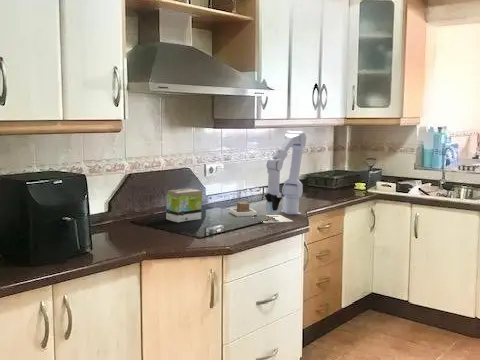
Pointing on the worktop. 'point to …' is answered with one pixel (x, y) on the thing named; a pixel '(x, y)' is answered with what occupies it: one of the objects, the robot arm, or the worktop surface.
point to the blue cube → (271, 208)
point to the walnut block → (242, 207)
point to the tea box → (183, 205)
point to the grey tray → (250, 213)
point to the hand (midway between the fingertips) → (272, 209)
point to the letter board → (277, 219)
